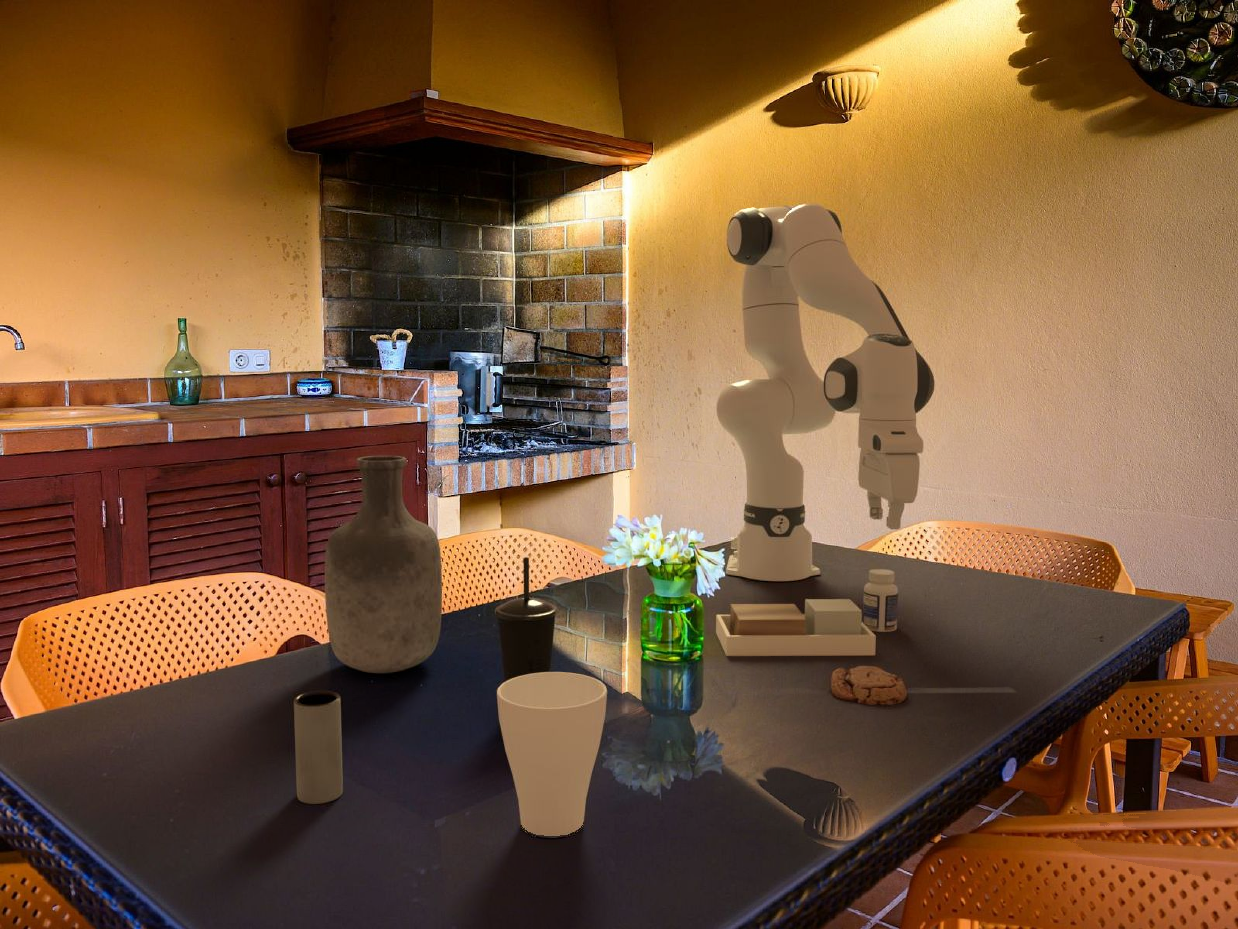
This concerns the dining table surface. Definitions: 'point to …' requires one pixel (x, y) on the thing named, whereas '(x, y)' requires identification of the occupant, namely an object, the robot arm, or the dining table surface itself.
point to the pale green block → (832, 617)
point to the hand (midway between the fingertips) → (884, 523)
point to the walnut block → (766, 619)
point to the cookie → (868, 686)
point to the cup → (552, 745)
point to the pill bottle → (880, 601)
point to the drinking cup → (526, 633)
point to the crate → (794, 643)
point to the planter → (318, 747)
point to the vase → (383, 578)
